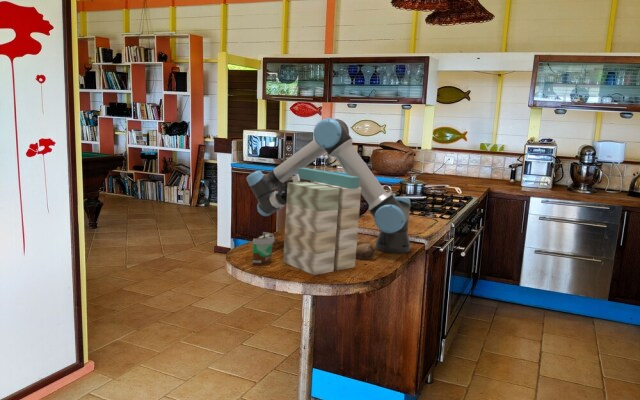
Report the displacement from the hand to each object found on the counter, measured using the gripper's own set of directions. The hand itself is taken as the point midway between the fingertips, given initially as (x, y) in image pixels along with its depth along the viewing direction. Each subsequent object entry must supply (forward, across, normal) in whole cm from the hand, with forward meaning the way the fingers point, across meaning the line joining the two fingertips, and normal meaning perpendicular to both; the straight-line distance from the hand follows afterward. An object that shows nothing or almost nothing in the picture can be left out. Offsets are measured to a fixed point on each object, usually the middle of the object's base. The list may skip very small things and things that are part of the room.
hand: (312, 177), depth 197 cm
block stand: (-4, +6, -34) cm, 34 cm away
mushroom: (-3, -17, -35) cm, 39 cm away
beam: (+7, 0, -5) cm, 8 cm away
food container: (-15, +21, -28) cm, 38 cm away
